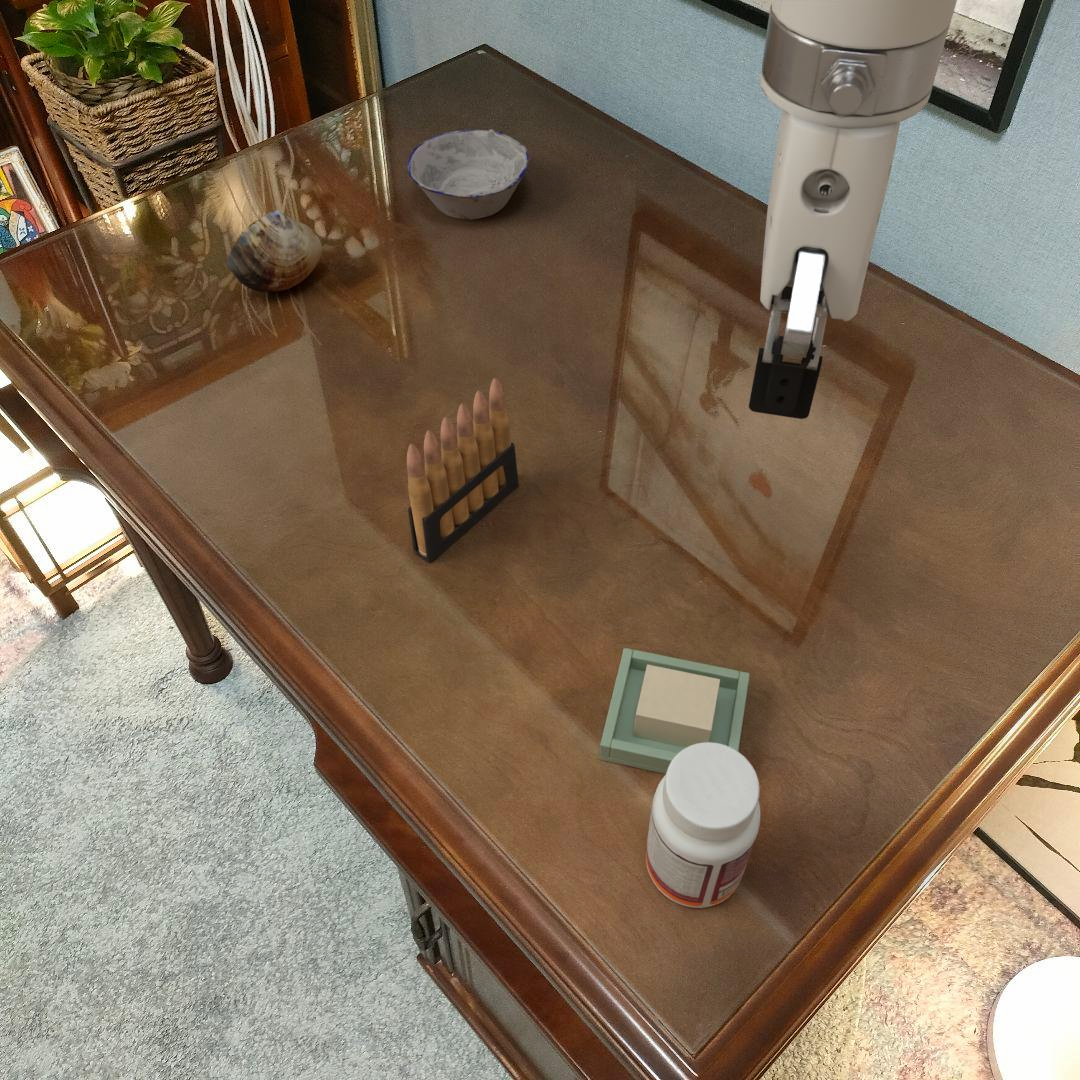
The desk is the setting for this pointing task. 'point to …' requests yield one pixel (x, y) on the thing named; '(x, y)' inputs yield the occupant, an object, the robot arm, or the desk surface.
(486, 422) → the ammunition clip
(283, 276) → the seashell
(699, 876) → the pill bottle
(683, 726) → the beige block
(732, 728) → the shallow square green tray
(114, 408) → the desk surface
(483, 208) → the bowl
